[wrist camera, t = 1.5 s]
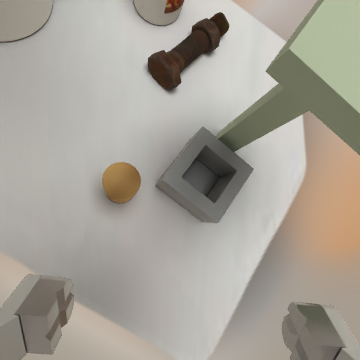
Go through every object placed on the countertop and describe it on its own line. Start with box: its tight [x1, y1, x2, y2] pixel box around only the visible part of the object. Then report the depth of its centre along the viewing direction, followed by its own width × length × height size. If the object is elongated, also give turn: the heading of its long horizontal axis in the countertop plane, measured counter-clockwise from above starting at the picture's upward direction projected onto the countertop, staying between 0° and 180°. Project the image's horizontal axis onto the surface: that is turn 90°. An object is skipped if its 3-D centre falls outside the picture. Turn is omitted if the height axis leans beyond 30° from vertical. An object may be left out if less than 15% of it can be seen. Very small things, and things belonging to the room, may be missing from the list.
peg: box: [102, 162, 141, 203], centre depth 32 cm, size 4×4×9 cm
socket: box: [156, 127, 253, 223], centre depth 36 cm, size 9×9×6 cm
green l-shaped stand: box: [216, 0, 360, 155], centre depth 25 cm, size 10×12×30 cm
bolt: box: [148, 12, 229, 89], centre depth 39 cm, size 6×5×15 cm
